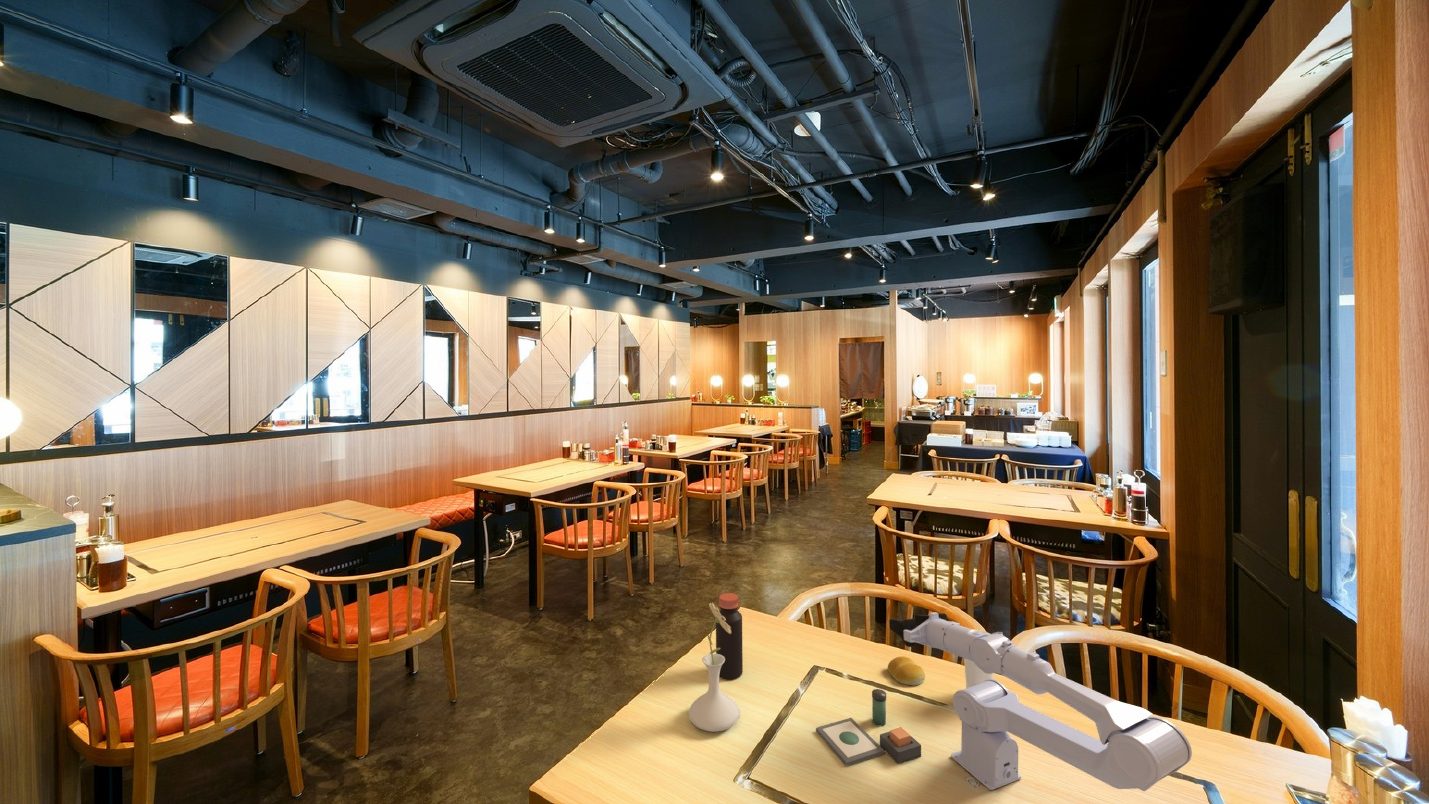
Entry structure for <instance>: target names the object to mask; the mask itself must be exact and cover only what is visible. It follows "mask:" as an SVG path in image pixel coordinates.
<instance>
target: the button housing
mask: <svg viewBox="0 0 1429 804" xmlns="http://www.w3.org/2000/svg"><path fill="white" fill-rule="evenodd" d="M879 745H880V746H881V747H882V748H883V749H884V753H886V754H887V755H888V756H889V757H890V758H891V759H892V760H893V761H895V763H897V765H901V764H904V763H907V762H910V761H912V760H916V759H918V758H921V757H922V744H921V743H920V742H918V741H917V740H916V739H915V738H914V736H912V735H911V744H909V745H906V746H903V747H900V748H899V747H898V746H897V745H896V744H895V743H894V742H893V741H892V740H890V730H889V731H887V732H883V733H880V734H879Z"/></svg>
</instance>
